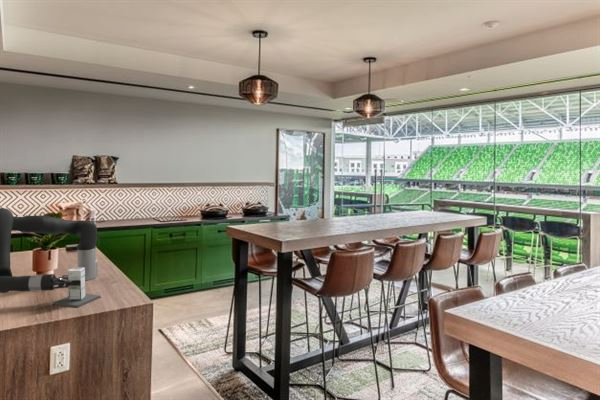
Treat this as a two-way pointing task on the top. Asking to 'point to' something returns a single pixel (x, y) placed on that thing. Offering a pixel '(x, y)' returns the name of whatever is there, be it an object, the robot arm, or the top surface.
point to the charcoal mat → (77, 301)
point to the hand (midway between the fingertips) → (82, 280)
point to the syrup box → (77, 290)
